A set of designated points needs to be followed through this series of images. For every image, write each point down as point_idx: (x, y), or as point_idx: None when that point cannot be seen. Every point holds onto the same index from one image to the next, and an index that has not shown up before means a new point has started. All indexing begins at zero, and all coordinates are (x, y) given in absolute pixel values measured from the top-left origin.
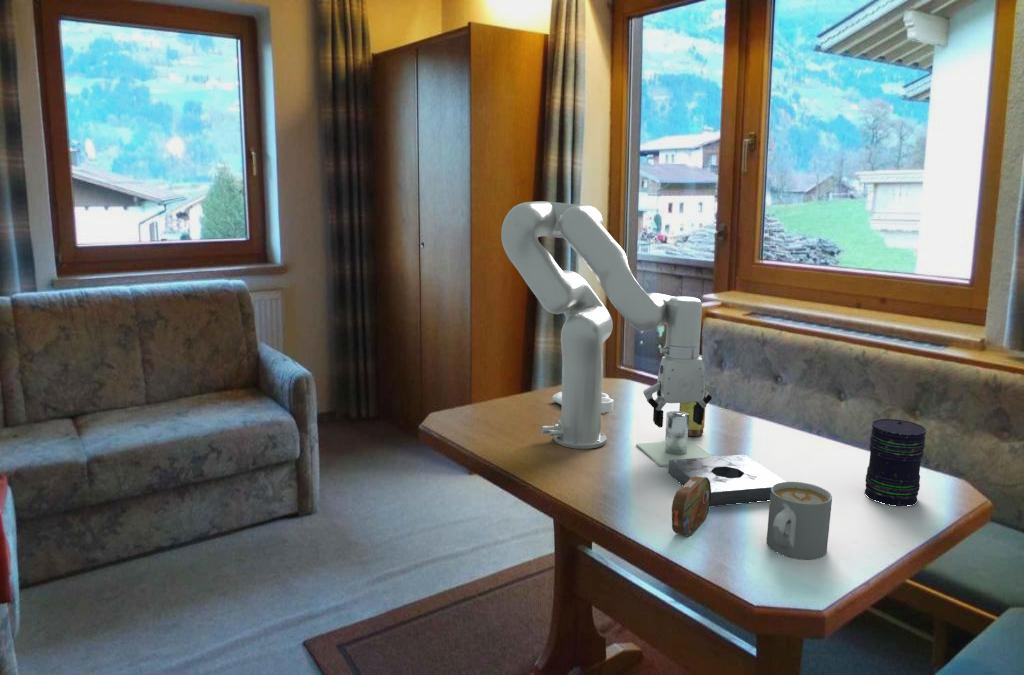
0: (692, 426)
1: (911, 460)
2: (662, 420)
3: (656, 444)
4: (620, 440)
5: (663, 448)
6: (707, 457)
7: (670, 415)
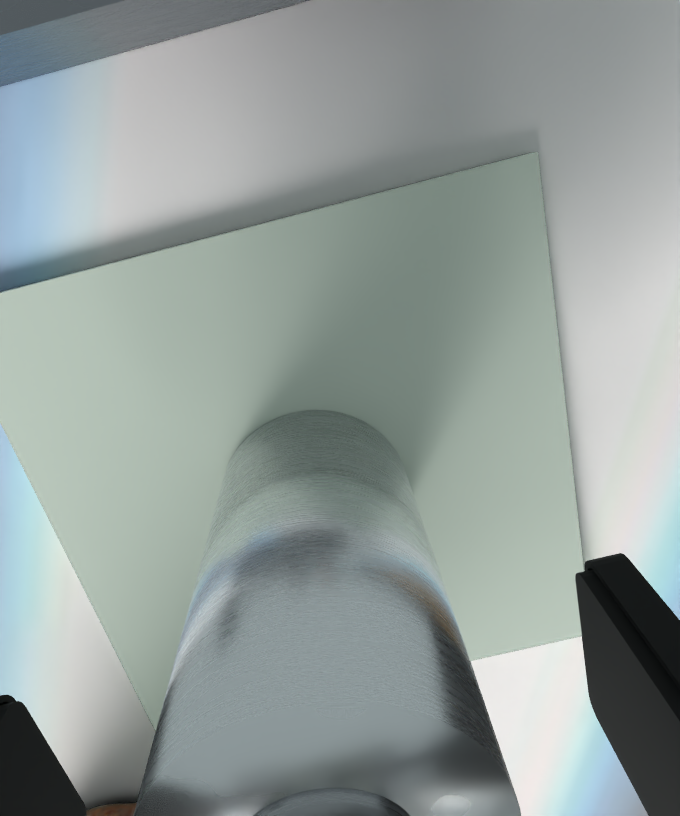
0: None
1: None
2: (635, 638)
3: None
4: None
5: None
6: (18, 18)
7: (476, 788)
